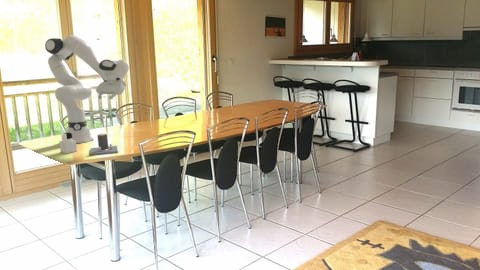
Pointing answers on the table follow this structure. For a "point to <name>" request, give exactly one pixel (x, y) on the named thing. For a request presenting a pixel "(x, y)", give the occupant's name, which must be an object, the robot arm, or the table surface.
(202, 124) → the table surface
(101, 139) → the plug housing
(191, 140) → the table surface
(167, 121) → the table surface
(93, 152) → the pin dock
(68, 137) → the medicine bottle
